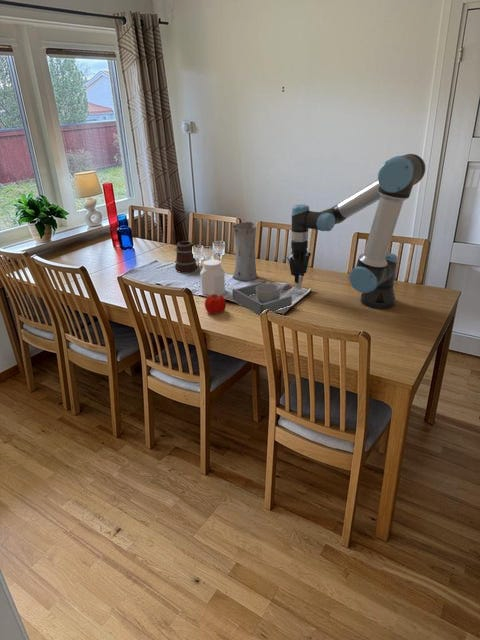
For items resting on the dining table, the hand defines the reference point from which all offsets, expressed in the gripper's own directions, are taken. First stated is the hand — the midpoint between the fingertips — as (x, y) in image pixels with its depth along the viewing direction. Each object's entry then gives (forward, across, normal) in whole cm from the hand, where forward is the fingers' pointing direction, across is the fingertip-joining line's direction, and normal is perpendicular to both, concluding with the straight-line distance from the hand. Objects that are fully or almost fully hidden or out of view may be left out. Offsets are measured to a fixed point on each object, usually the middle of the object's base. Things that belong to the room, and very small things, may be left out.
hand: (298, 288), depth 209 cm
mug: (+1, +24, -65) cm, 69 cm away
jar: (+2, +31, -27) cm, 41 cm away
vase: (+2, +8, -33) cm, 34 cm away
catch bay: (+2, +21, -2) cm, 21 cm away
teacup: (+3, +17, -1) cm, 18 cm away
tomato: (+3, +43, -6) cm, 43 cm away
